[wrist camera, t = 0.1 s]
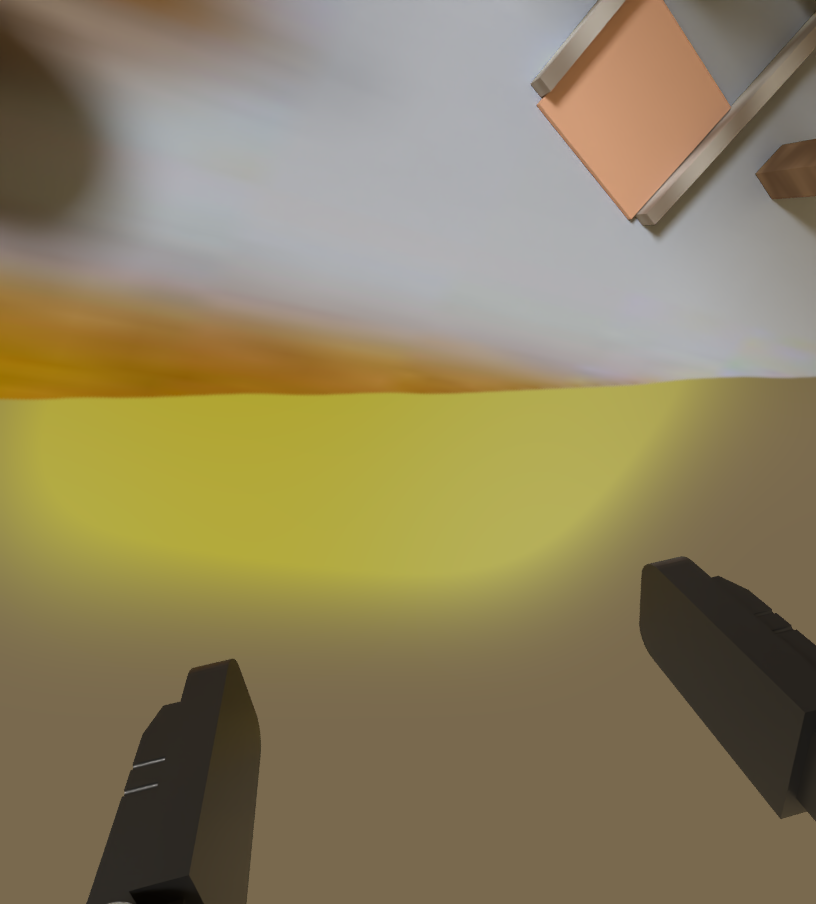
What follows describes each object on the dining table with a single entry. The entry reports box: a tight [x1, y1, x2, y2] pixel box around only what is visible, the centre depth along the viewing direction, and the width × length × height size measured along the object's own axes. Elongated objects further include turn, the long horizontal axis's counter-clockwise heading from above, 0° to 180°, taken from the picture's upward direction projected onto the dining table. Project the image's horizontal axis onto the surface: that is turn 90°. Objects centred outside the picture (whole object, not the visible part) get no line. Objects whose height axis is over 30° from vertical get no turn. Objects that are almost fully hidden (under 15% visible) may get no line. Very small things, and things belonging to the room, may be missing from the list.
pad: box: [537, 0, 731, 219], centre depth 34 cm, size 9×10×1 cm
